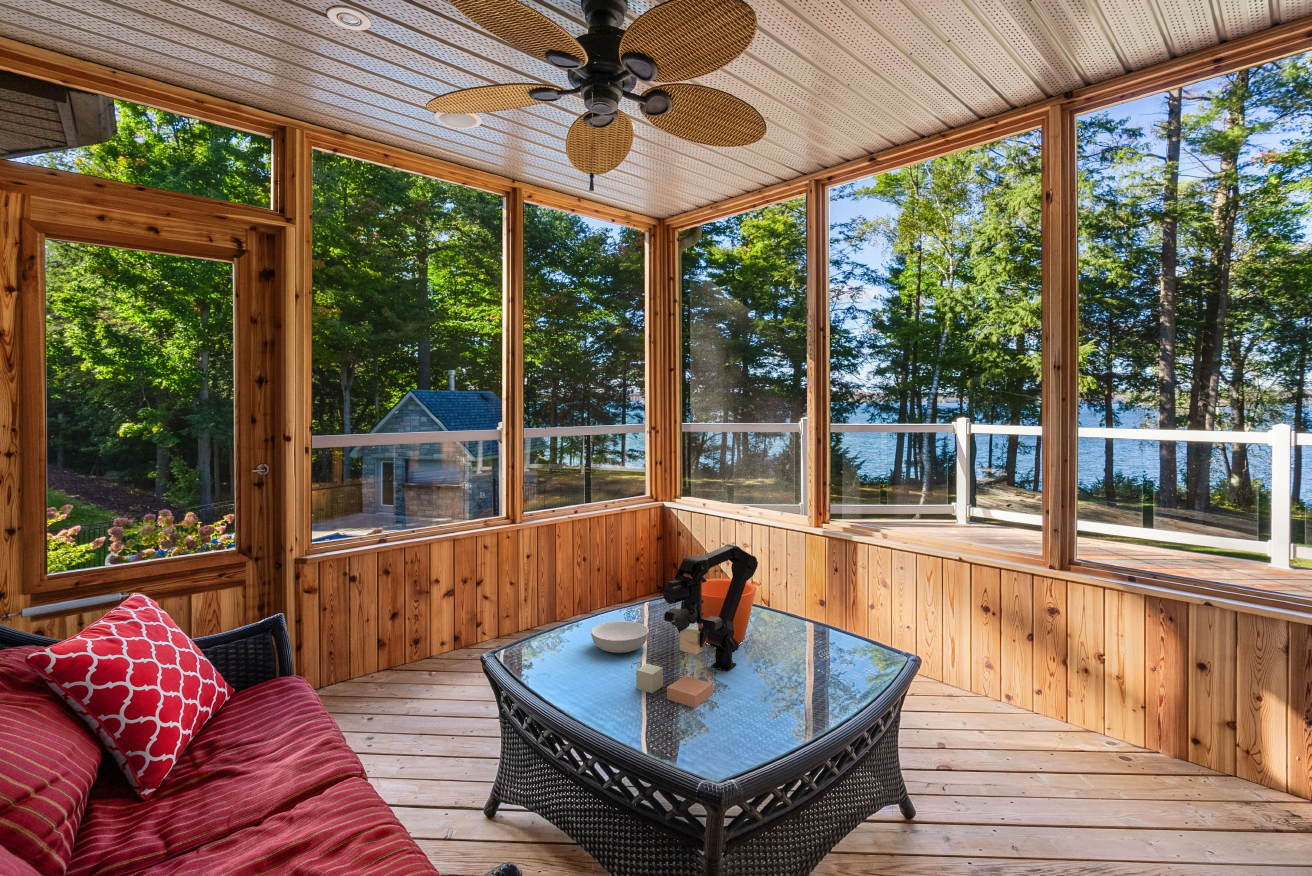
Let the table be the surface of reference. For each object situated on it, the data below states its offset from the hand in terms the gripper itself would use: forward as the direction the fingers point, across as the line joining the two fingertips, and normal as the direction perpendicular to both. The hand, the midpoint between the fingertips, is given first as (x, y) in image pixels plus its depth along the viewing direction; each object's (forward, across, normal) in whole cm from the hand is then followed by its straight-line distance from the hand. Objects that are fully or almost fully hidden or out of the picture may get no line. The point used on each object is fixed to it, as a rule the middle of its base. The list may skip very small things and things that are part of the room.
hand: (692, 645), depth 208 cm
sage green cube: (+11, -8, -13) cm, 19 cm away
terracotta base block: (+11, +6, -12) cm, 17 cm away
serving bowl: (+11, -35, +8) cm, 38 cm away
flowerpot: (+11, -8, +36) cm, 38 cm away
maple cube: (+1, 0, 0) cm, 1 cm away
